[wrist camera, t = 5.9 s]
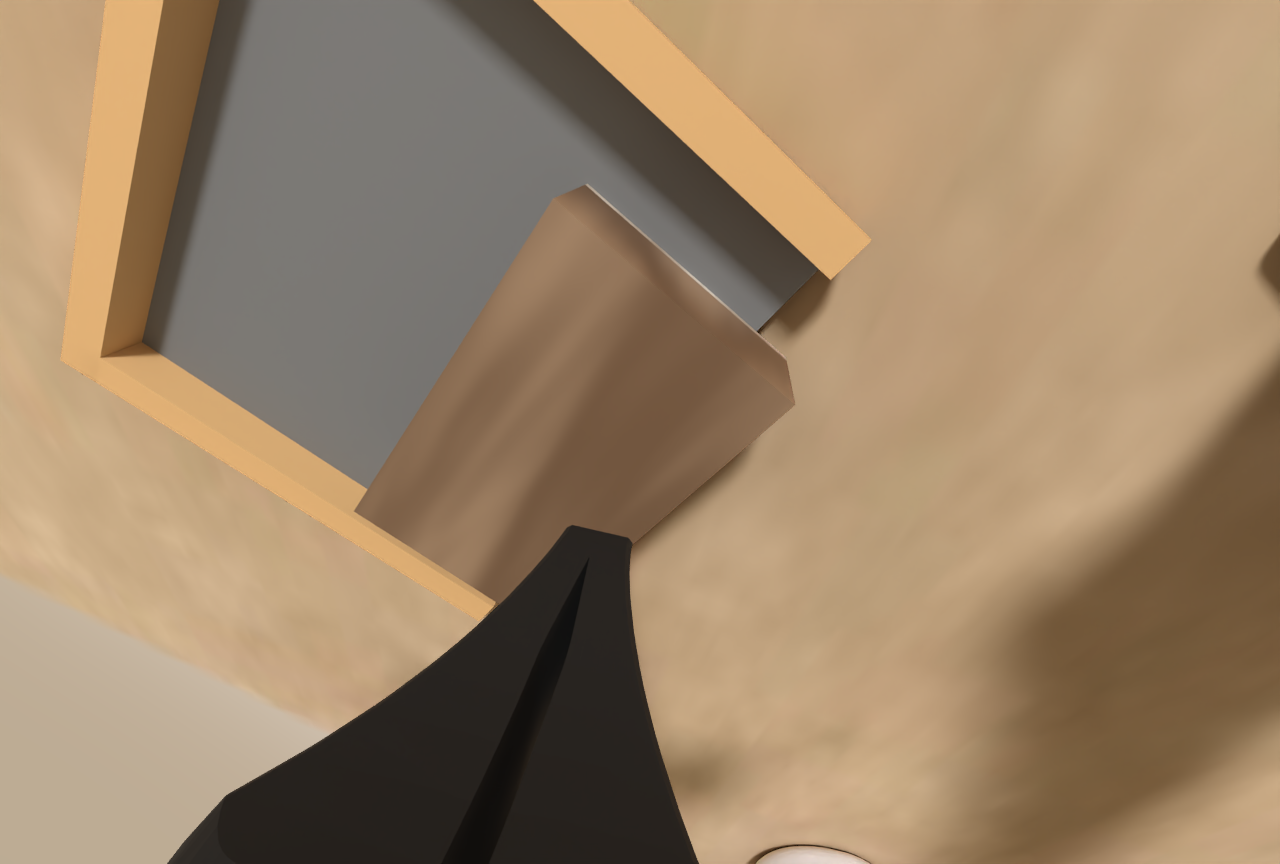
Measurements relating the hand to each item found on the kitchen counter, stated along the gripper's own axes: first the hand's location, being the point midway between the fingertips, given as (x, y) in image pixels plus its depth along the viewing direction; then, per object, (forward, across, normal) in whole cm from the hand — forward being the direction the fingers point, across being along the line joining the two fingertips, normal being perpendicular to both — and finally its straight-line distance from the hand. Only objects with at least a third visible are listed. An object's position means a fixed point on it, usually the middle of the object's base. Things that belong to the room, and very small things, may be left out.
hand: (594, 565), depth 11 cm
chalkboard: (+5, +6, -4) cm, 8 cm away
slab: (+3, -1, 0) cm, 3 cm away
